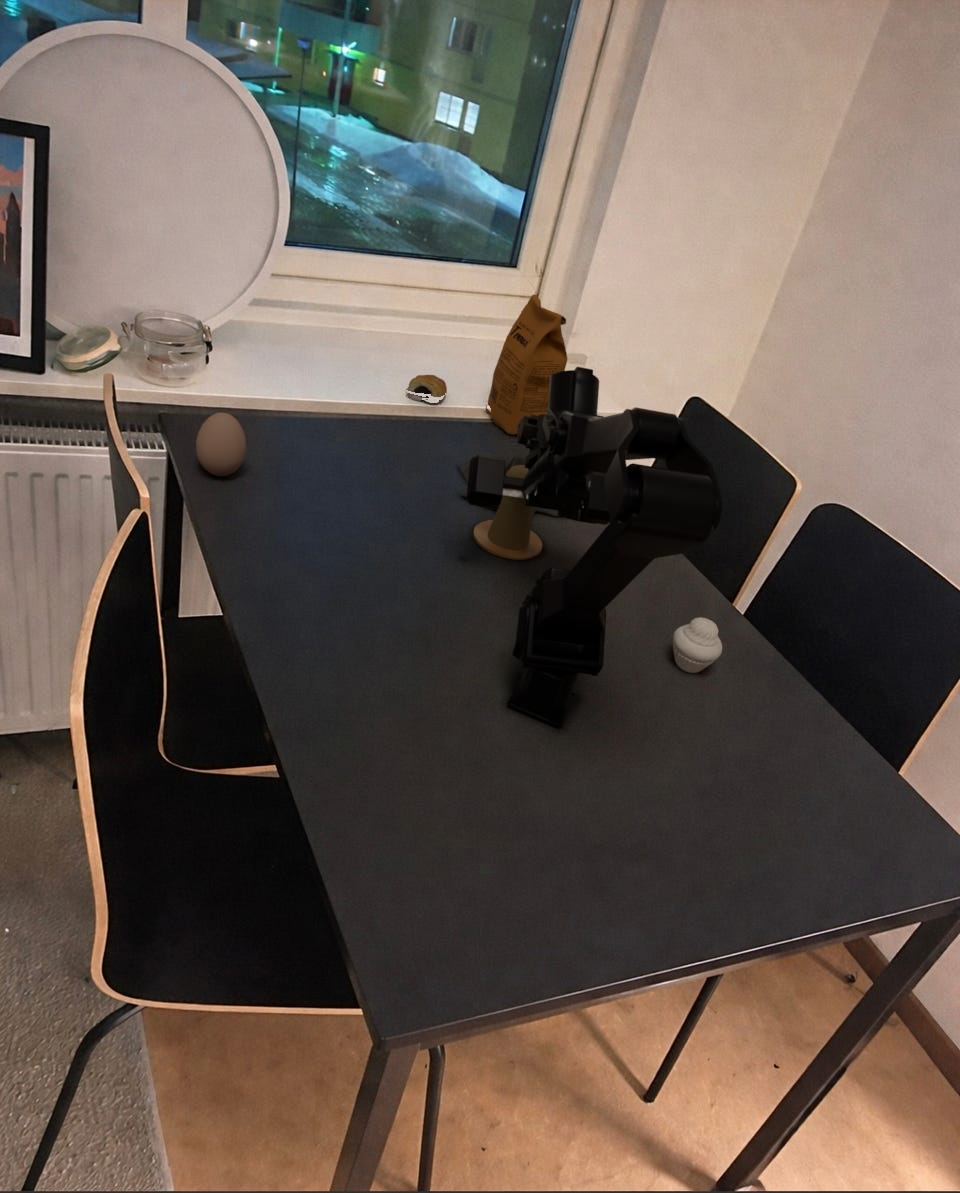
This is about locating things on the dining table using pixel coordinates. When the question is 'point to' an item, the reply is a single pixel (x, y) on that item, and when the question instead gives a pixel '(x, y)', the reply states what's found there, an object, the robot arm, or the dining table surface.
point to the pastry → (427, 387)
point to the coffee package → (527, 366)
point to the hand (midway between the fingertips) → (525, 507)
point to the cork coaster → (485, 543)
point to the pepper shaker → (512, 518)
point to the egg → (221, 444)
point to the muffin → (696, 645)
